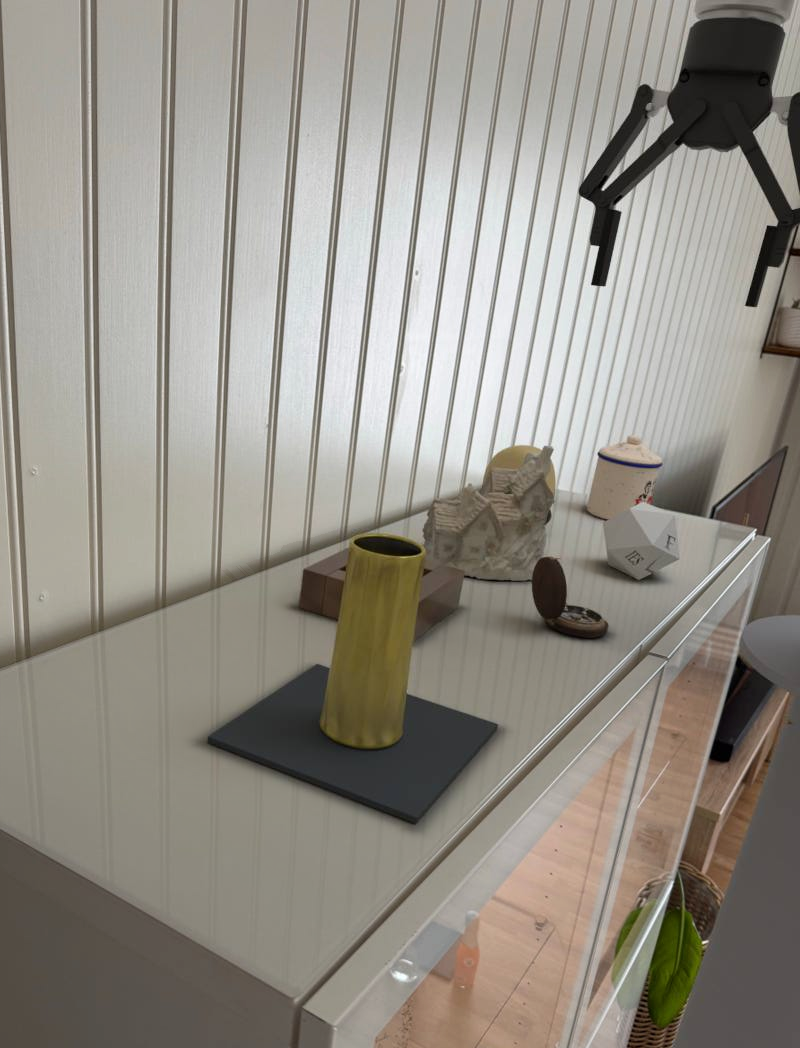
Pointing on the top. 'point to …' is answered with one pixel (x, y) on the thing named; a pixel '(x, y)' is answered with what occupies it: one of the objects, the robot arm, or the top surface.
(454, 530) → the ceramic cottage
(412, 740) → the mat
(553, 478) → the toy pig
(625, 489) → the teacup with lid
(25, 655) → the top surface
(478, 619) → the top surface
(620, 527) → the die
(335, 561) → the holder
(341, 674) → the vase
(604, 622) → the compass
